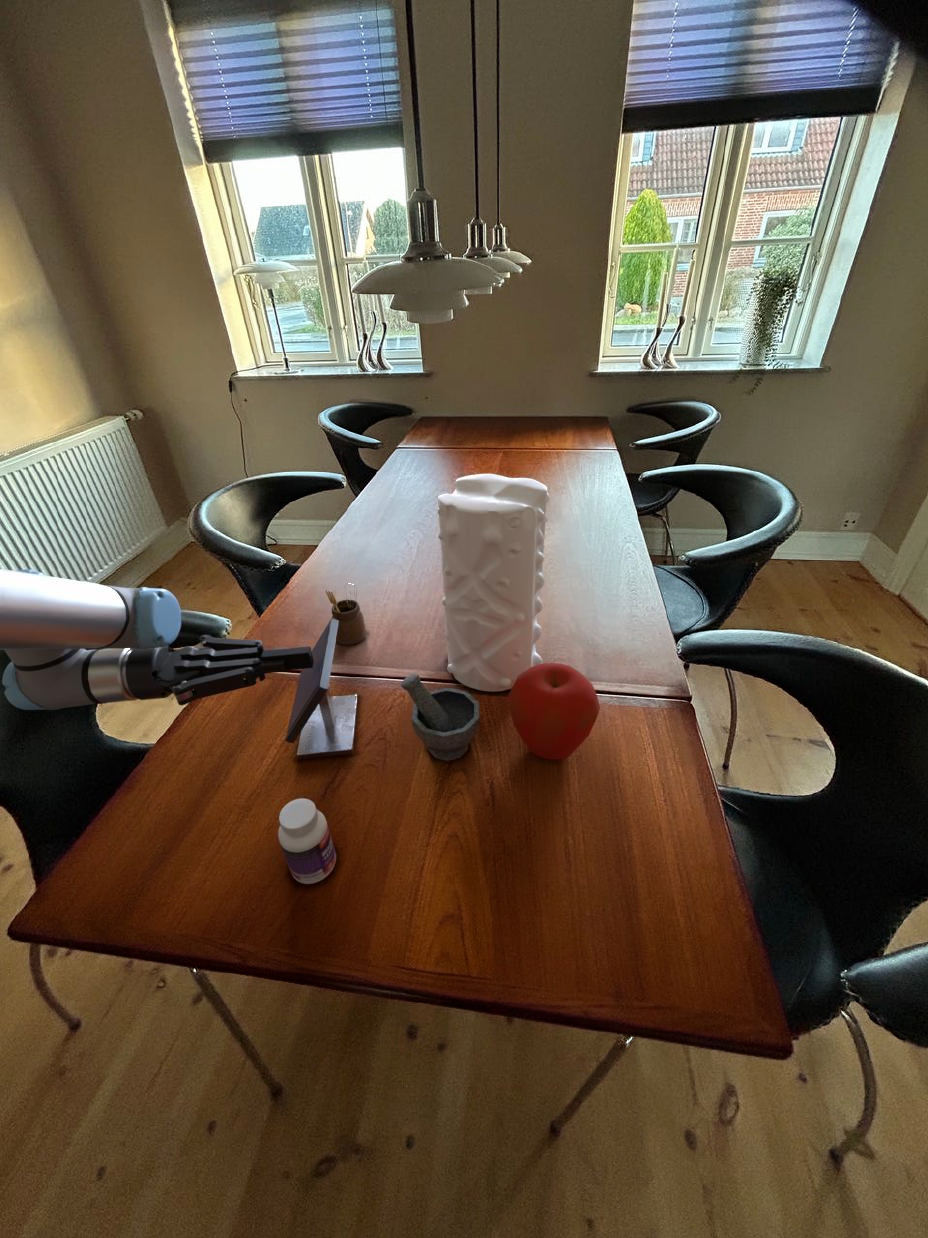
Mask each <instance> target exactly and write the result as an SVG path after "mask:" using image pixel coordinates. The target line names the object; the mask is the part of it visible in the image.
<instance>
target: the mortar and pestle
mask: <svg viewBox="0 0 928 1238" xmlns="http://www.w3.org/2000/svg"><path fill="white" fill-rule="evenodd" d="M401 688H402V689H403V690H404V691H407V693H408V695H409V696H410V698H411V700H412V701H413V707H412V716H411V723H412V727H413V730H414V733H415V734H416V736H417V737H419V740H421V741H422V743H424V745H425V746H426V747H427V750H428V752H429V753H431V754H430V755H432V756H433V757H434V759H438V760H442V761H447V762H449V761H452V760H456V759H460V758H462V756H463V755H464V754H465V753H466V752H467V751H468V750H469V743H470V742H471V741H472V740H473V739H474V738H475V737H476V735H477V734H478V732H479V728H480V702H479V701H478V700H476V698H474V697H473V696H472V695H471V694H470V693H469V692H468V691H467V690H461V689H458V688H452V687H444V688H438V689H435V690H430V691H429V690H428V689H427V687H426V686H425V685H424V684H423V682H422V681H421V676H420V675H419V674H417V673H412V674H409V675H407V676H406V677H405V678H404V679H403V680H402V682H401Z"/></svg>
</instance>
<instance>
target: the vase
mask: <svg viewBox="0 0 928 1238" xmlns="http://www.w3.org/2000/svg"><path fill="white" fill-rule="evenodd" d="M454 485H455V489H454V491H453V492H452V493H443V494H439V495H438V496H437V502H438V505H437V506H438V509H437V514H438V524H439V533H438V539H439V540H440V541H439V542H440V557H441V558H440V559H441V560H440V561H441V574H442V587H443V588H442V589H443V598H442V600H441V604H442V606H444V620H445V633H444V637H445V638H446V650H447V668H446V671H447V672H448V673H450V674H453V677H454V679H455V680H456V681H458V683H460V684H461V685H464V686H466V687H468V688H471V689H475V690H478V691H481V692H482V691H483V692H504V691H507V690H511V689H512V687H513V685H514V683H515V681H516V679H517V677H518V675H520V674H521V673H522V672H524V671H525V670H526V669H528V668H530V667H533V666H536V665H540V664H543V658H542V657H541V655H540V654H538V653H537V649H536V643H537V641H539V640H540V638H541V636H542V627H541V626H540V624H538V615H539V614H540V613H541V612H542V610H543V607H544V604H543V601H542V600H541V598H540V597H541V589H543V587H544V585H545V576H544V575H543V566H544V561H545V557H544V553H545V538H546V536H545V534H546V523H547V522H548V520H549V517H548V515H547V504H548V503H549V501H550V499H551V496H550V494H549V493H548V486H547V485H545V484H544V483H542V482H540V481H538V480H536V479H534V478H530V477H507V476H504V475H501V474H500V475H499V474H495V473H479V474H471V475H465V476H461V477H458V478H457V479H456V480H455V482H454Z"/></svg>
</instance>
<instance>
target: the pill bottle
mask: <svg viewBox="0 0 928 1238" xmlns="http://www.w3.org/2000/svg"><path fill="white" fill-rule="evenodd" d="M278 822H279V824H280V825H279V827H278V832H277V836H278V841H279V845H280V847H281V850H282V852H283V855H284V858H285V861H286V863H287V865H288V869H289V871H290V874H291V875H292V877H293V878H294V880H295V881H297V882H299V883H301V884H303V885H312V884H316V883H318V882H320V881H323V880H324V879H326V877H328V876H329V875H330V874H331V872H333V870H334V868H335V865H336V861H337V853H336V850H335V846H334V843H333V839H332V836H331V832H330V828H329V825H328V822H327V818H326V817H325V815H324V813H322V811H320V810H318V809H317V807H316V805H315V802H314V801H312V800H310V799H308V798H304V797H303V798H296V799H293V800H291V801H289V802H288V803H286V804H285V805H284V806H283V808H282V809H281V810H280V812H279V816H278Z"/></svg>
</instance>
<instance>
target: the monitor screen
mask: <svg viewBox="0 0 928 1238" xmlns="http://www.w3.org/2000/svg"><path fill="white" fill-rule="evenodd" d="M338 623H339V621H338V620H335V619H333V618H332V617H331V618H330V620H329V622H328V623H327V625H326V627H325V628H324V630H323V631H322V633H321V635H320V636H319V638H318V640H317V641H316V643H315V645H314V647H312V649H311V652H312V656H313V660H314V663H313V668H306V669H300V674H299V679H298V682H297V687H296V692H295V696H294V701H293V705H292V709H291V713H290V718H289V723H288V726H287V731H286V736H285V739H284V741H285V742H287V743H290V744H294V743H295V742H296V741H297V739H298V737H299V736H300V735H301V731H302V729H303V728H304V726H305V725H306V723H307V722H308V720H309V718H310V717H311V715H312V714H313V712H314V711H315V709H316V708H317V706H318V704H319V703H320V701H321V700H322V698H323V697H324V695H325V694H326V692H327V691H328V686H329V685H330V679H331V673H332V666H333V659H334V654H335V648H336V647H335V646H336V641H337V640H336V635H337V629H338ZM329 687H330V686H329Z"/></svg>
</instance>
